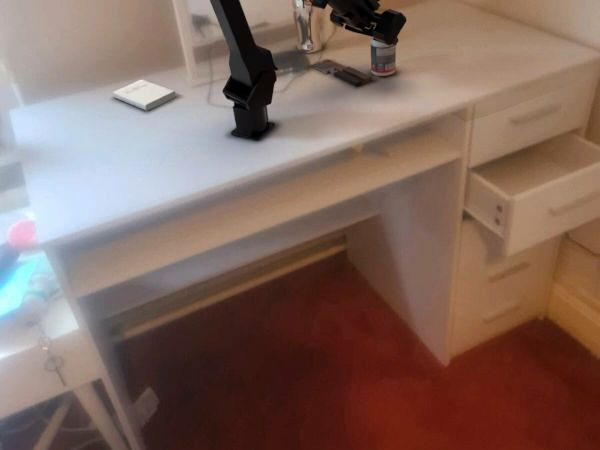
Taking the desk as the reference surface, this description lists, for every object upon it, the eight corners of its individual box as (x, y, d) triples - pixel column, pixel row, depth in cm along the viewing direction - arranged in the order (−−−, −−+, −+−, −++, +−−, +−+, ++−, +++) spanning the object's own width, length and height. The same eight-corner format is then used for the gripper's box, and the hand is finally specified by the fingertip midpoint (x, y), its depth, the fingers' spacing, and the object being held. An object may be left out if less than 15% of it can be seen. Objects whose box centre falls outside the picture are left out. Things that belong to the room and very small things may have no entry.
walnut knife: (372, 80, 130) (372, 76, 129) (365, 83, 129) (364, 79, 128) (327, 60, 141) (327, 56, 140) (320, 62, 140) (320, 58, 140)
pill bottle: (370, 67, 135) (369, 24, 129) (394, 66, 134) (394, 22, 128) (371, 77, 130) (370, 33, 124) (396, 75, 130) (397, 31, 124)
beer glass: (321, 53, 144) (316, -11, 135) (293, 54, 146) (286, -10, 137) (326, 42, 150) (321, -20, 141) (298, 43, 151) (292, -19, 142)
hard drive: (146, 112, 128) (114, 98, 136) (176, 97, 133) (143, 84, 140) (144, 105, 127) (112, 91, 135) (175, 90, 132) (142, 78, 139)
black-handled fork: (364, 83, 129) (364, 80, 128) (354, 87, 128) (354, 83, 127) (320, 63, 140) (320, 59, 139) (311, 66, 139) (310, 63, 138)
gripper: (399, -30, 110) (440, 15, 121) (338, -45, 123) (379, -4, 134) (367, 24, 112) (410, 64, 123) (309, 3, 124) (353, 41, 135)
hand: (388, 39), depth 129 cm, fingers closed on pill bottle, 5 cm apart
